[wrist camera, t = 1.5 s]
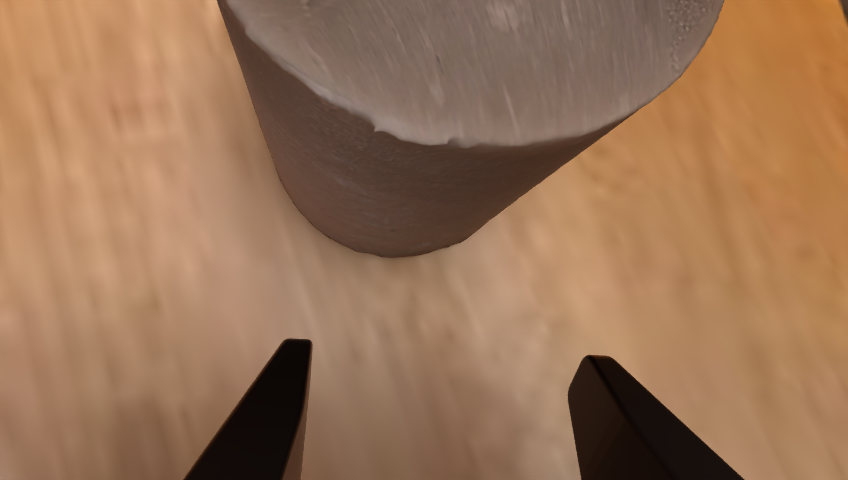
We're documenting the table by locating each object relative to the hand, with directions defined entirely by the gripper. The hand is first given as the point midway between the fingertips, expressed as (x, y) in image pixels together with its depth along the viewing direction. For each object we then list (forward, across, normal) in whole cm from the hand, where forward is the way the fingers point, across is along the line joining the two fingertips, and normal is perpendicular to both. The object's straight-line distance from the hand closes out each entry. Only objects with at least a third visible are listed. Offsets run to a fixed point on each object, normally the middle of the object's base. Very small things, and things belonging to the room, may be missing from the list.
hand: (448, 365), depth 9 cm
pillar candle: (+15, 0, +3) cm, 15 cm away
